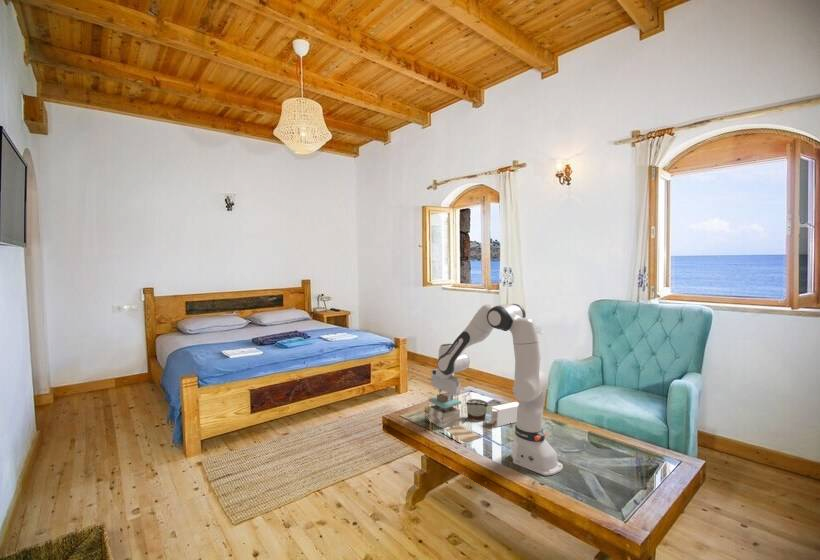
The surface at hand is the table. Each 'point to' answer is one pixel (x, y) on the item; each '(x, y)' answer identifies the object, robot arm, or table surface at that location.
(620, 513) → the table surface
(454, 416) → the box
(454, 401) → the lid
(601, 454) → the table surface
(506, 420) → the cigarette display
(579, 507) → the table surface
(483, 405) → the food container
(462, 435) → the mat
